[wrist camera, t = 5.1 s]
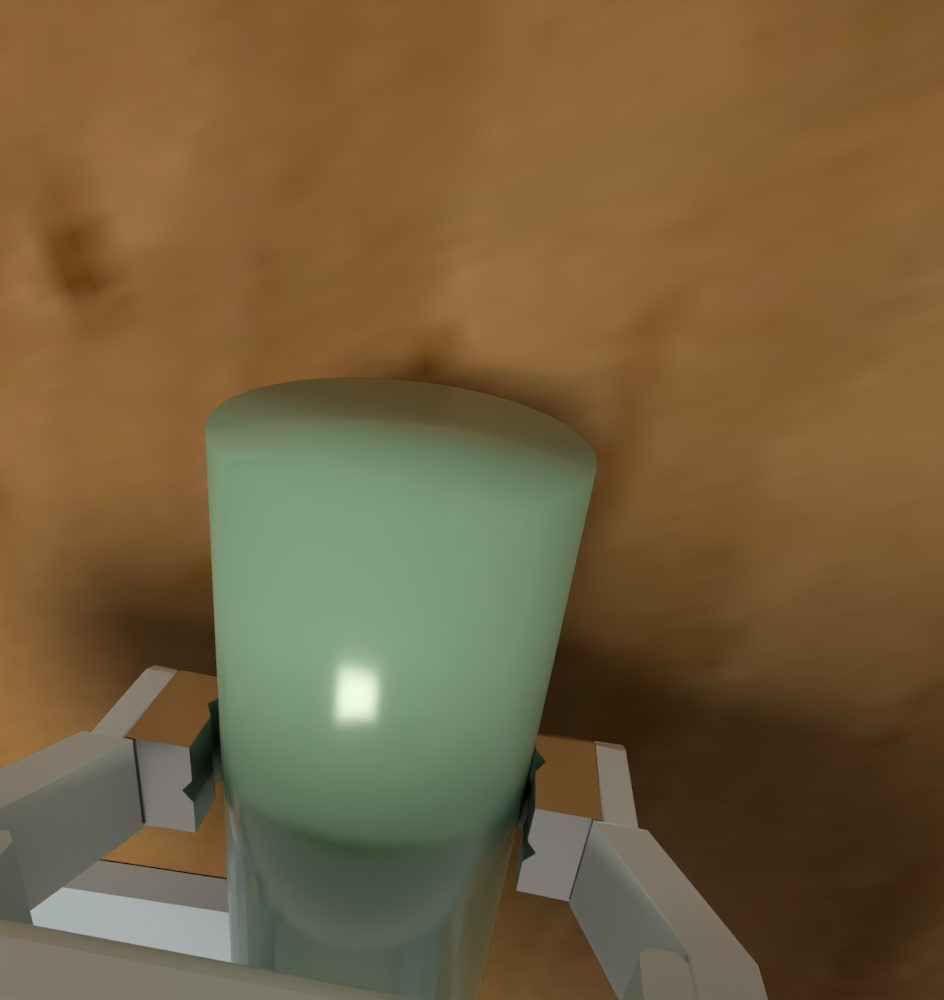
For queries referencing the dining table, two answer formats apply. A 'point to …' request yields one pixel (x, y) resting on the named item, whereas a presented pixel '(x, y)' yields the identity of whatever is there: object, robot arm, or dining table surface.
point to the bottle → (383, 666)
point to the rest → (143, 909)
